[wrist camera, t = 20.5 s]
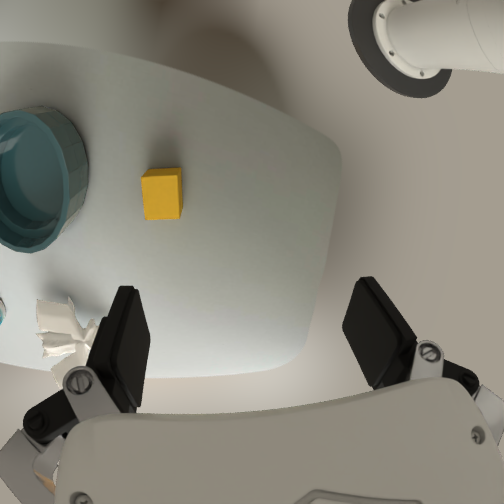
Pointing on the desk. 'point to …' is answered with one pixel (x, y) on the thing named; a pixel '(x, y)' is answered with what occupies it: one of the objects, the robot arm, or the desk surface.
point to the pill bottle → (2, 312)
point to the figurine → (64, 336)
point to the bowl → (39, 177)
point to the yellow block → (162, 193)
